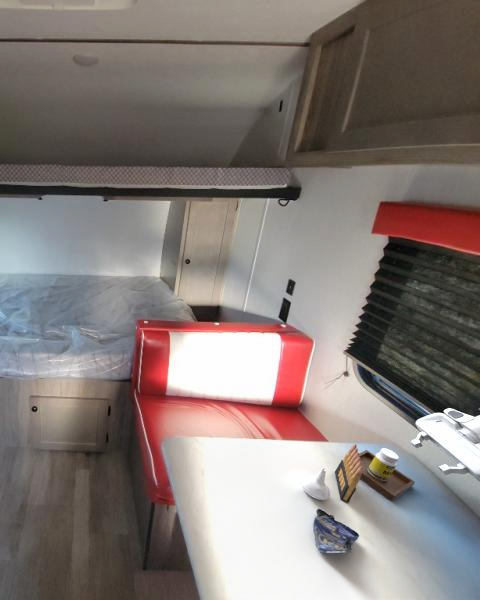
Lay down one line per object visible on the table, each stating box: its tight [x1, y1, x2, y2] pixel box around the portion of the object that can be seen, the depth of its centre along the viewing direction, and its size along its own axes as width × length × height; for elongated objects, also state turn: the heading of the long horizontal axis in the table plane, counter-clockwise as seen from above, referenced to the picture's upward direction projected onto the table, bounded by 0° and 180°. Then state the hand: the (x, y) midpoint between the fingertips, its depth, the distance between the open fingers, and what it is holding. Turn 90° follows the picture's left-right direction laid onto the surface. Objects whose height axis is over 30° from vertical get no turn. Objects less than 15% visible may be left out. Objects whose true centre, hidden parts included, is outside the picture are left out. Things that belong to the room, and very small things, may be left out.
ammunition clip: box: [334, 444, 363, 504], centre depth 92 cm, size 11×2×12 cm, turn 151°
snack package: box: [312, 508, 360, 554], centre depth 79 cm, size 12×6×12 cm
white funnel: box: [301, 467, 331, 501], centre depth 90 cm, size 6×6×8 cm
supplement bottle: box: [368, 447, 400, 481], centre depth 97 cm, size 5×5×8 cm
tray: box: [358, 449, 416, 502], centre depth 98 cm, size 12×12×2 cm
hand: (426, 457), depth 94 cm, fingers open, 8 cm apart
